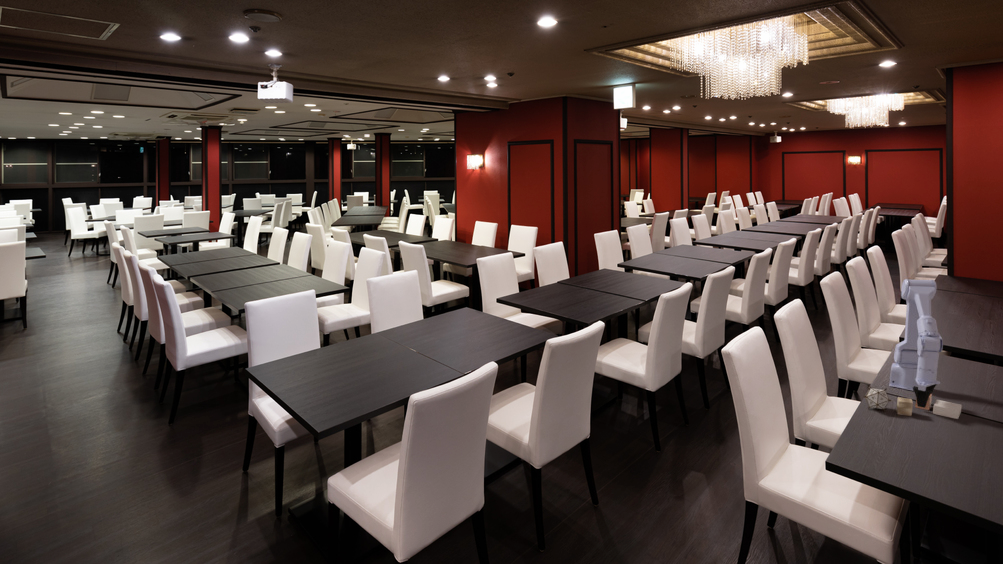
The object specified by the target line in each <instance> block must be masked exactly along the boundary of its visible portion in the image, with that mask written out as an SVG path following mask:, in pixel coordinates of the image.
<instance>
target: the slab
mask: <svg viewBox="0 0 1003 564" xmlns="http://www.w3.org/2000/svg"><path fill="white" fill-rule="evenodd" d="M932 407H933V409H932V414H933V415H938V416H942V417H946V418H951V419H956V420H959V417H960V415H961V414H962V407H963V406H962V404H960V403H955V402H951V401H950V402H949V401H945V400H942V399H941V400H940V399H936V401H935V403H934V404H933V406H932Z"/></svg>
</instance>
